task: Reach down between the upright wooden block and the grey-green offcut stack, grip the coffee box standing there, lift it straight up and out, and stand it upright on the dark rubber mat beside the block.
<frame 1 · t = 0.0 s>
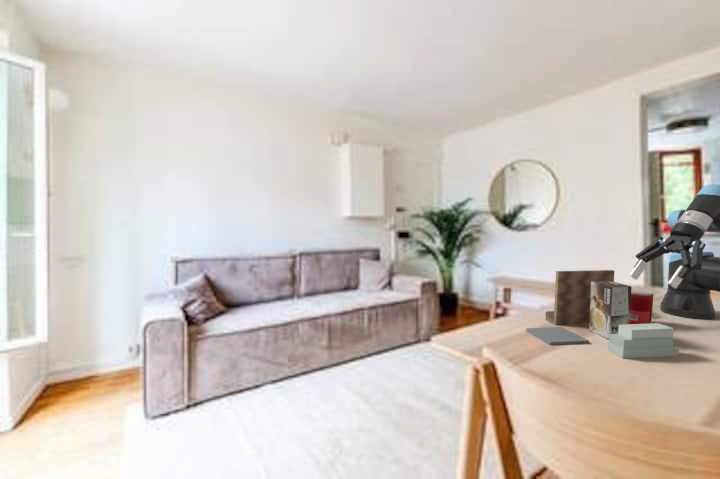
hand: (651, 281, 115), 15 cm above the table, tool tilted 35°, fingers open, 13 cm apart
canned food: (636, 323, 122), on the table
offcut stack: (642, 354, 96), on the table
coffee box: (607, 335, 110), on the table
upright wooden block: (582, 323, 120), on the table
planter bowl: (592, 310, 137), on the table
mat: (556, 336, 108), on the table
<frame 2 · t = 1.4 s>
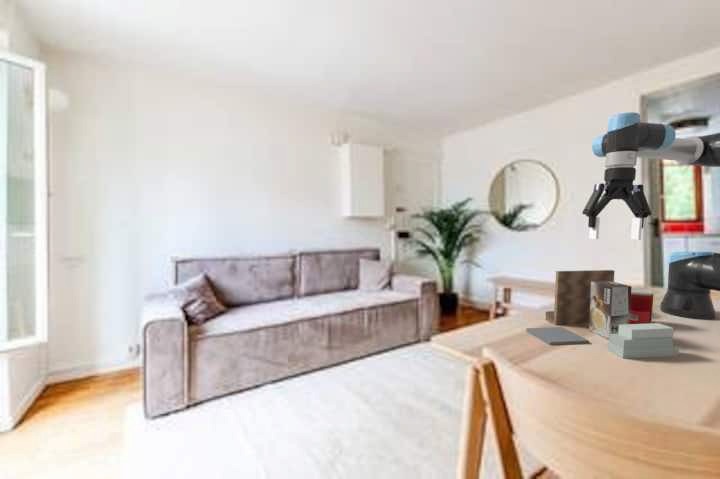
hand: (614, 239, 108), 29 cm above the table, tool pointing down, fingers open, 13 cm apart
nothing on the table moved.
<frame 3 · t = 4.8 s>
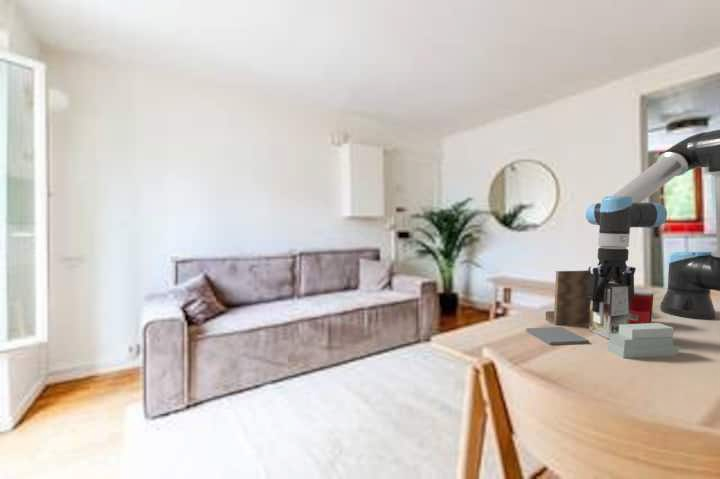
hand: (608, 322, 109), 4 cm above the table, tool pointing down, fingers closed on coffee box, 6 cm apart
coffee box: (607, 335, 110), on the table, touching gripper
everything else where it was.
when the fingers open (6 cm above the table, at t = 15.8 s): coffee box drops 2 cm, resting on mat.
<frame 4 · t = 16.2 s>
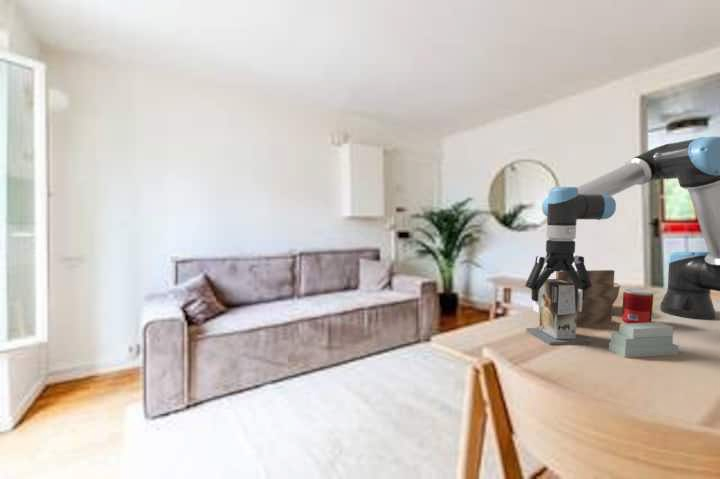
hand: (557, 311, 107), 8 cm above the table, tool pointing down, fingers open, 12 cm apart
coffee box: (556, 334, 108), point 1 cm above the table, touching mat
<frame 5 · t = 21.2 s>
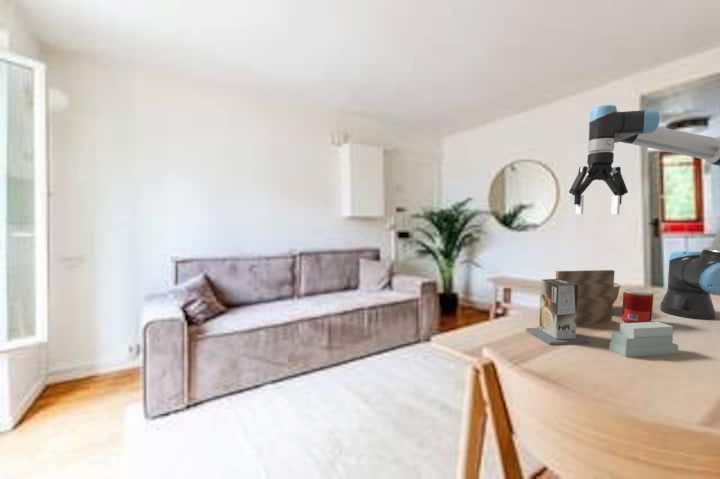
hand: (597, 214, 125), 37 cm above the table, tool pointing down, fingers open, 13 cm apart
at the end: coffee box inside the target area on the mat (0.2 cm from its centre), point 0.6 cm above the mat's base; coffee box tilted 0°; offcut stack moved 1.7 cm from its start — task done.
